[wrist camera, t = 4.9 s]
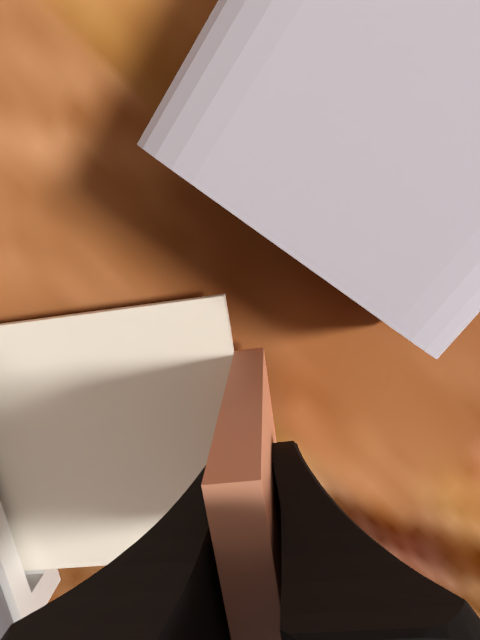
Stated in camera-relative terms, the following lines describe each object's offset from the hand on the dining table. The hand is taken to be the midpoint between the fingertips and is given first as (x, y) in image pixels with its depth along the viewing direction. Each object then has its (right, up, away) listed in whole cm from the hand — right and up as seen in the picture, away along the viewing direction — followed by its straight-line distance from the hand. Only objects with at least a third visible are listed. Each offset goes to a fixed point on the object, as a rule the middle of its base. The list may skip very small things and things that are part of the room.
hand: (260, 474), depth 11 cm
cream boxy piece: (-5, 0, +3) cm, 6 cm away
